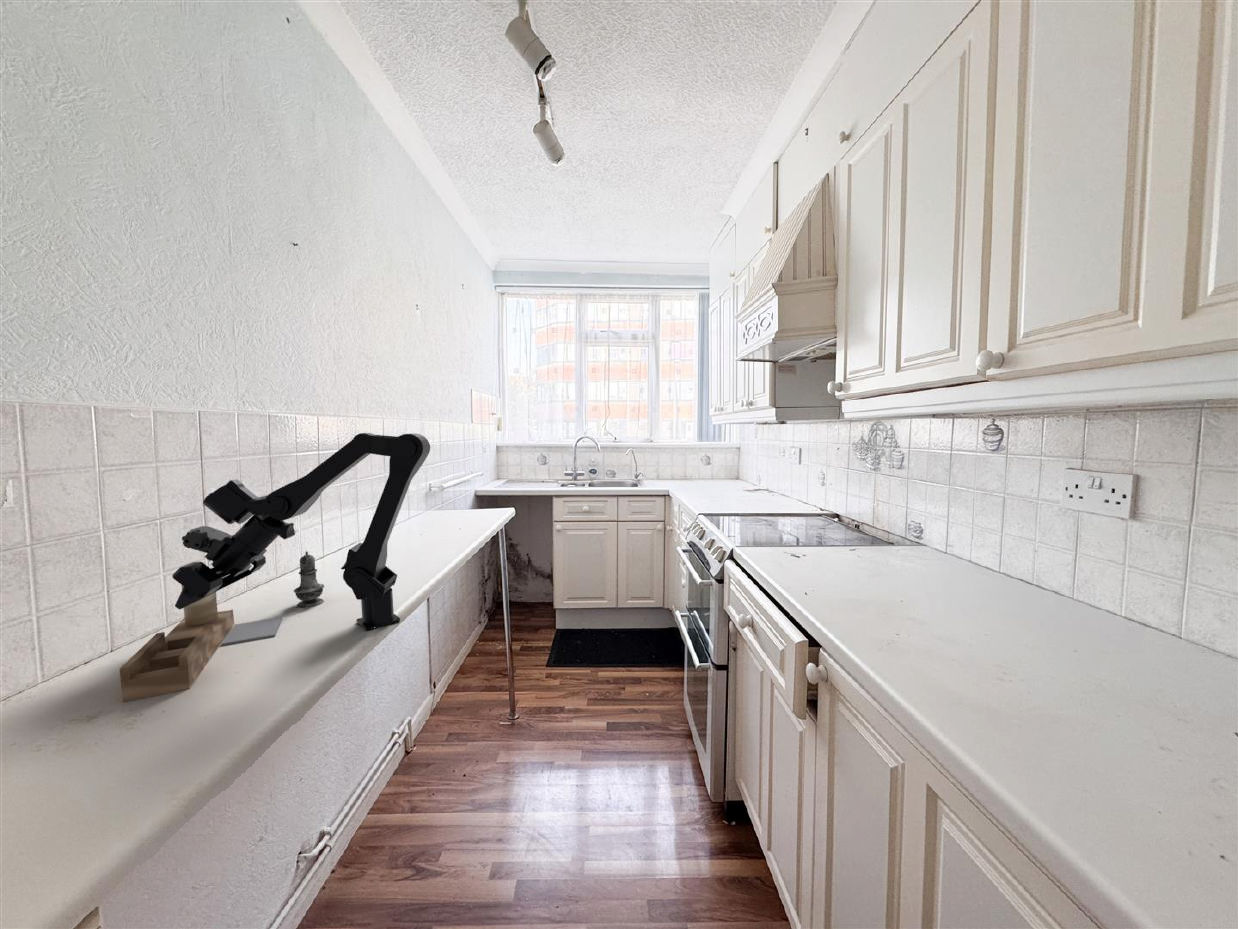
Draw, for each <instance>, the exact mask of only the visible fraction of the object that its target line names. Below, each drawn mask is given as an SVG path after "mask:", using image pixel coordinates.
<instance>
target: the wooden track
mask: <svg viewBox="0 0 1238 929" xmlns="http://www.w3.org/2000/svg"><path fill="white" fill-rule="evenodd" d="M234 625H235V617H234V609H230V610H223V611H218V618H217V619H216V620H214V621H211V622H208V623H205V624H200V625H193V626H188V625H185V618H184V617H183V618H182V620H180V622H179V623H177V624H176V626H174V627H173V628H172V629H171V631H169V633H167V635H166V634H165V631H163V632H156V633H155V634H154V635H153V636H152V637H151V638H150V639H149V640H148V641H147V642H145V644H144V645H143V646H142V647H141V648H140V649H138V651H137V652H135V654H134V655H132V656H131V657H130V658H129V659H128V660H127V661H126V662H125V663H124V664H123V665H122V666H121V667H120V668H119V676H120V685H121V695H122V696H121V697H122V703H127V702H130V701H136V700H142V699H145V698H150V697H151V698H152V697H155V696H161V695H165V694H170V693H174V692H175V693H176V692H179V691H185V690H190V689H191V687H192V686H193V685H194V683H195V682H196V680H197V679H198V678H199V676H200V674H201V673H202V672H203V671H204V669H205V667H206V666H207V665H208V663H209V661H210V660H212V657H213V656H214V655H215V653H216V652H217V651H218V648H219V647H220V646H221V645H222V642H223V641H224V640H225V638H226V637H227V635H228V634H229V632H230V631H231V629H232V628H233V626H234ZM160 694H161V695H160Z"/></svg>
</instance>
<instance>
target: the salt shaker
mask: <svg viewBox="0 0 1238 929" xmlns="http://www.w3.org/2000/svg"><path fill="white" fill-rule="evenodd" d="M304 554H305V555H303V556H300V558H299V568H300V569H299V572H298V574H299V575H300V576H299V577H300V585H299V586H298V587H296V588H294V589H293V593H294V594H295V597H296V598H297V599H298V600H300V601H299V602H298V603H296V608H298V607H299V608H298V609H305V608H306V607H307V608H312V607H316V606H319V605H321V603H322V604H323V603H324V602H325V600H324V599H323V598H320V596H321V595H322V594H323V591H324V588H325V584H322V583H319V582H318V579H317V572H318V569H317V568H316V563H315V562H316V561H315V560H316V559H315V556H314V555H310V554H309V552H308V551H306V550H305V552H304Z"/></svg>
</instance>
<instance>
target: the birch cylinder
mask: <svg viewBox="0 0 1238 929" xmlns="http://www.w3.org/2000/svg"><path fill="white" fill-rule="evenodd" d="M183 587H184V586H183V585H181V590H182V589H183ZM218 612H219V611H218V600H217V592H215V593H213V594H211V595H209V596H207V597H205V598H203V599H201V600H199V601H197V602H194V603H192V604H190V605H188V606H186V607H184V608H183V615H184V617H183V619H184V618H185V625H188V626H193V625H200V624H205V623H208V622H211V621H214V620H216V619H217V618H218Z"/></svg>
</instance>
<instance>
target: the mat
mask: <svg viewBox="0 0 1238 929" xmlns="http://www.w3.org/2000/svg"><path fill="white" fill-rule="evenodd" d="M283 620H284V616H278V617H274V618H273V617H272V618H266V619H261V620H254V621H248V622H241V623H236V624H235V623H234V625H233V627H232V628H231V630H230V631H229V633H228V634H227V635H226V637H225V638H224V640H223V641H222V643H221V646H228V645H234V644H239V643H240V644H241V643H245V642H251V641H257V640H261V639H267V638H273V637H276V635H277V633H278V630H279V628H280V626H281V624H282V622H283Z"/></svg>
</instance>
